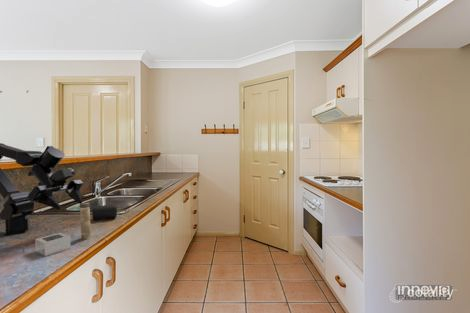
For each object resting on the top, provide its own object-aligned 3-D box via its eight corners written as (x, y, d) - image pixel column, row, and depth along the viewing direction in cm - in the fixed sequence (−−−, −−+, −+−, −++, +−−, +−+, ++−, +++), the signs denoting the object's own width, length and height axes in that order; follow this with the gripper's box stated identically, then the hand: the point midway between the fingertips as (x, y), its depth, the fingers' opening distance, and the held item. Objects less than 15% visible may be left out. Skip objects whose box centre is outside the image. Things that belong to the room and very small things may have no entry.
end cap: (92, 223, 109) (92, 208, 109) (92, 219, 115) (92, 204, 115) (117, 219, 114) (116, 205, 114) (115, 215, 120) (115, 202, 120)
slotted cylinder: (80, 240, 89) (79, 205, 88) (81, 237, 91) (80, 203, 91) (90, 238, 90) (89, 204, 89) (90, 236, 93) (90, 202, 92)
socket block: (35, 251, 79) (35, 239, 79) (60, 243, 85) (60, 232, 85) (45, 256, 76) (44, 243, 75) (70, 248, 82) (70, 236, 82)
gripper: (32, 163, 83) (60, 196, 81) (78, 160, 101) (102, 187, 99) (15, 185, 85) (42, 218, 83) (64, 178, 103) (86, 205, 101)
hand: (71, 205), depth 92 cm, fingers open, 9 cm apart
